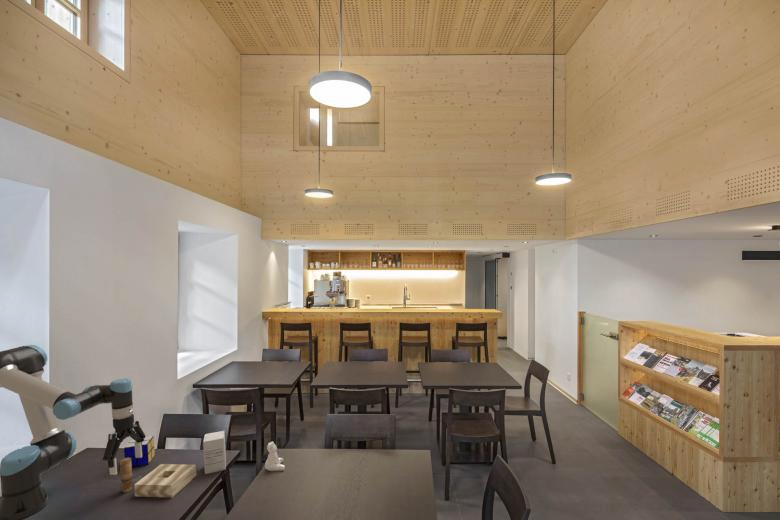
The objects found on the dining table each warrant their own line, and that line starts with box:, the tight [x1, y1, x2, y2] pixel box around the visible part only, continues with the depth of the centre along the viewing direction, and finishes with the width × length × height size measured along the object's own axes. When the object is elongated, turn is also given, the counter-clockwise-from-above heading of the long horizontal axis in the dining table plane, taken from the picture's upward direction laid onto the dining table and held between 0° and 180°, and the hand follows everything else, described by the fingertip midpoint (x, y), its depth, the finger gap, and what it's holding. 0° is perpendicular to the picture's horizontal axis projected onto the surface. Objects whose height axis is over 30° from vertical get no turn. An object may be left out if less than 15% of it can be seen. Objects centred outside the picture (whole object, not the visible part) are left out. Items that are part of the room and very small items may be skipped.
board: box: [133, 463, 197, 499], centre depth 170 cm, size 17×16×5 cm
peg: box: [119, 457, 134, 493], centre depth 168 cm, size 4×4×13 cm
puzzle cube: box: [123, 435, 156, 468], centre depth 192 cm, size 10×10×10 cm
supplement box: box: [202, 430, 227, 475], centre depth 183 cm, size 9×9×15 cm
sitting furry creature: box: [264, 441, 286, 472], centre depth 180 cm, size 10×9×12 cm
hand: (126, 465), depth 168 cm, fingers open, 13 cm apart
